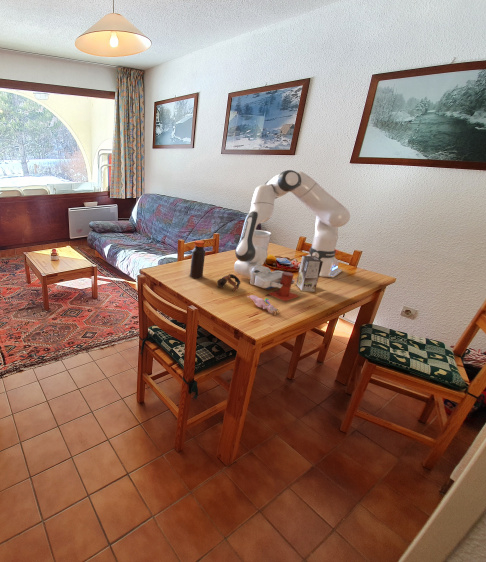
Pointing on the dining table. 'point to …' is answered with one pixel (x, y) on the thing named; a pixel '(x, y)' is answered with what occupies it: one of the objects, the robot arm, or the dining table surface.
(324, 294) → the dining table surface
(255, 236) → the utensil holder
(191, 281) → the dining table surface
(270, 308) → the pink elongated piece
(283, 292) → the rust-red canister
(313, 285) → the coffee box
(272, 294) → the terracotta mat
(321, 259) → the robot arm
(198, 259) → the bottle
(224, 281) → the brown headphones
